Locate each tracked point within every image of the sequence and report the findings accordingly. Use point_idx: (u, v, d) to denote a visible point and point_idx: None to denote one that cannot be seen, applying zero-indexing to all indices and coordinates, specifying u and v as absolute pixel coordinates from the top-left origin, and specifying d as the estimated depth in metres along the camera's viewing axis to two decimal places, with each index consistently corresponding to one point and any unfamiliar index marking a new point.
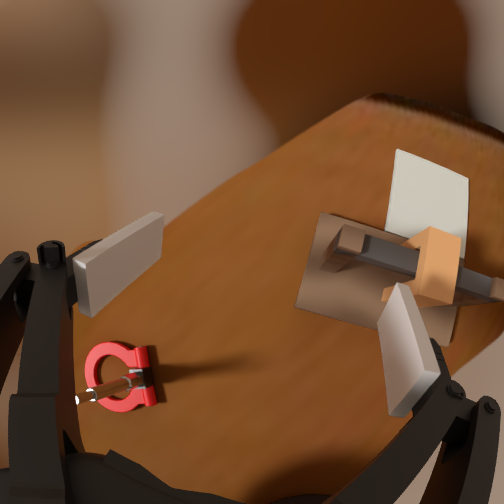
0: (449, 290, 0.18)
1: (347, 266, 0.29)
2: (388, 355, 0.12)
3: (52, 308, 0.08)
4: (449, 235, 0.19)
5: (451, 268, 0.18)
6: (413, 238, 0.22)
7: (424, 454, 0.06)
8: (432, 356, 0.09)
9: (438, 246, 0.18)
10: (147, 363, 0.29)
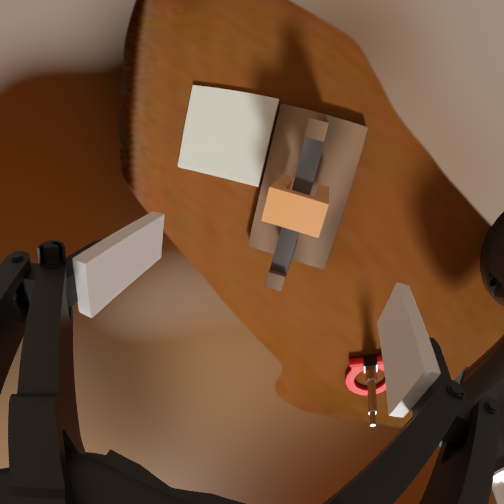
0: (316, 206, 0.24)
1: None
2: (388, 355, 0.12)
3: (52, 308, 0.08)
4: (267, 200, 0.25)
5: (297, 202, 0.24)
6: None
7: (424, 454, 0.06)
8: (432, 356, 0.09)
9: (278, 214, 0.25)
10: (360, 359, 0.42)
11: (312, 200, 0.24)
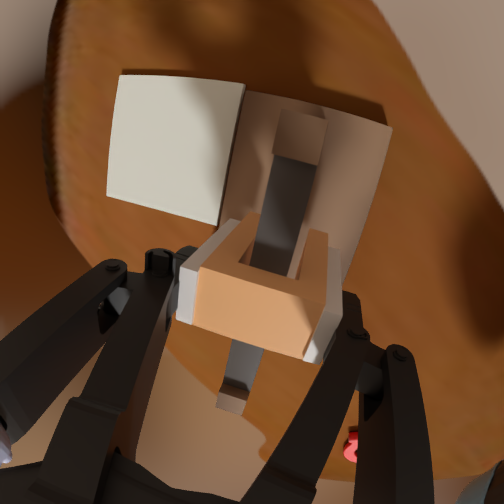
0: (299, 307, 0.11)
1: None
2: None
3: (147, 319, 0.09)
4: (200, 291, 0.12)
5: (258, 298, 0.12)
6: None
7: (343, 400, 0.07)
8: (338, 302, 0.12)
9: (222, 317, 0.12)
10: None
11: (290, 296, 0.11)
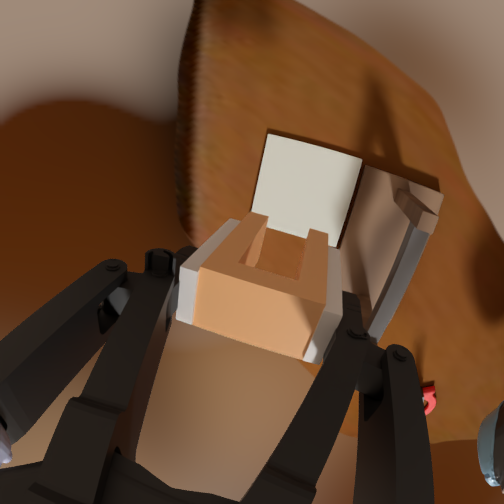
0: (299, 308, 0.11)
1: (366, 287, 0.36)
2: None
3: (147, 320, 0.09)
4: (200, 291, 0.12)
5: (258, 299, 0.12)
6: None
7: (343, 400, 0.07)
8: (338, 302, 0.12)
9: (222, 317, 0.12)
10: None
11: (290, 296, 0.11)
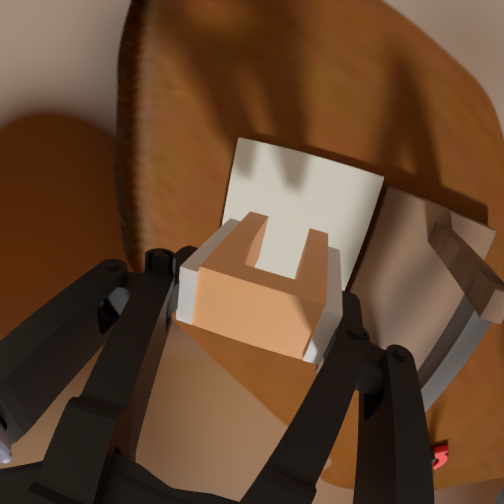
0: (299, 308, 0.11)
1: None
2: None
3: (147, 319, 0.09)
4: (199, 291, 0.12)
5: (258, 299, 0.12)
6: None
7: (343, 400, 0.07)
8: (338, 302, 0.12)
9: (222, 317, 0.12)
10: None
11: (290, 296, 0.11)
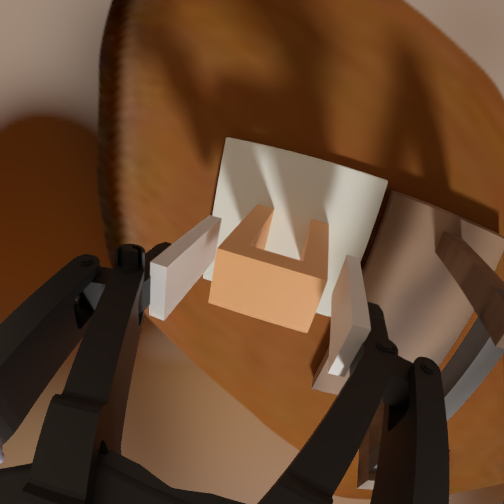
0: (304, 284, 0.13)
1: None
2: (334, 320, 0.14)
3: (120, 314, 0.09)
4: (216, 271, 0.14)
5: (268, 276, 0.13)
6: None
7: (367, 413, 0.07)
8: (365, 314, 0.11)
9: (236, 294, 0.14)
10: None
11: (296, 273, 0.13)
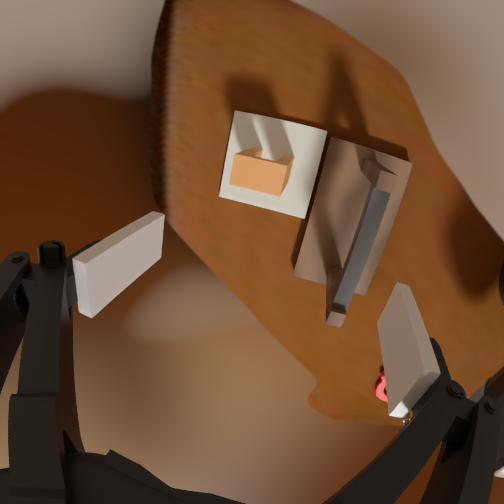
0: (276, 168, 0.27)
1: (337, 258, 0.37)
2: (388, 355, 0.12)
3: (52, 308, 0.08)
4: (233, 165, 0.28)
5: (259, 166, 0.27)
6: None
7: (424, 454, 0.06)
8: (432, 356, 0.09)
9: (243, 177, 0.28)
10: None
11: (272, 163, 0.27)
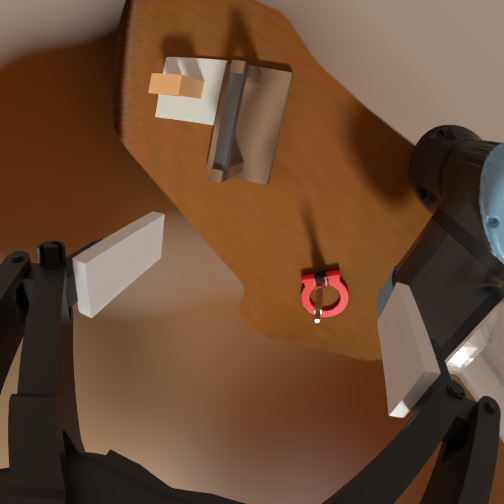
0: (175, 77, 0.35)
1: (238, 153, 0.45)
2: (388, 355, 0.12)
3: (52, 308, 0.08)
4: (151, 80, 0.36)
5: (165, 78, 0.36)
6: None
7: (424, 454, 0.06)
8: (432, 356, 0.09)
9: (156, 86, 0.36)
10: (311, 275, 0.51)
11: (173, 74, 0.35)
